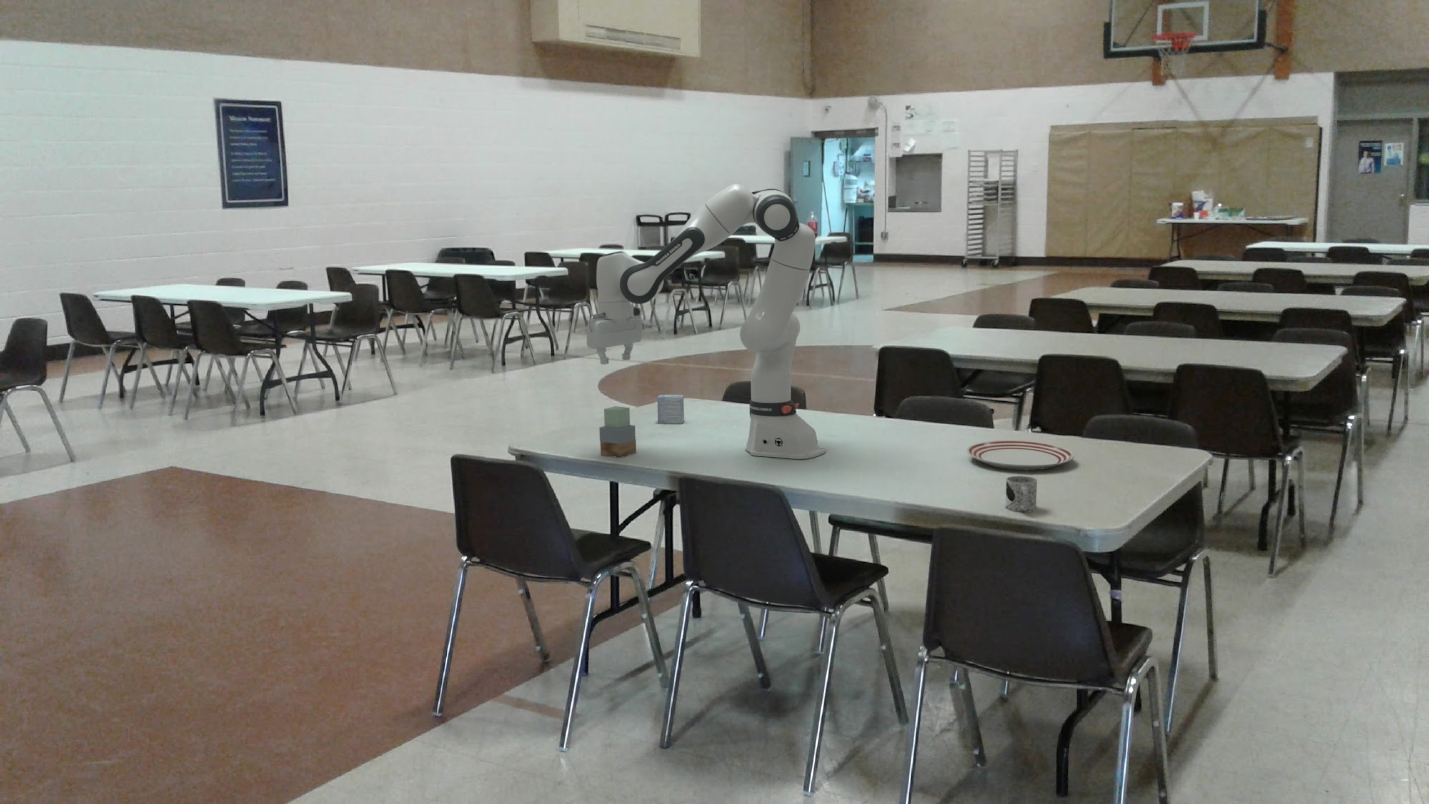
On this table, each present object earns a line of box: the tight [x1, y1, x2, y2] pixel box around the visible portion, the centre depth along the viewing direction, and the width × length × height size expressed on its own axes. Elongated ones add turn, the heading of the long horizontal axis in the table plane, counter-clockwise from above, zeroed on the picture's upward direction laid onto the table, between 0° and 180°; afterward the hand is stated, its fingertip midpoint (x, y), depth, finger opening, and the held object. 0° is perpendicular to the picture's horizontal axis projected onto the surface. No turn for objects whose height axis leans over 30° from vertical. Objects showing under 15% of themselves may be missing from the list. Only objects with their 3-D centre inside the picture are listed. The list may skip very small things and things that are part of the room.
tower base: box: [599, 438, 637, 458], centre depth 322 cm, size 7×7×4 cm
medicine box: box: [656, 394, 685, 425], centre depth 366 cm, size 8×4×9 cm, turn 84°
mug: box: [1005, 475, 1038, 513], centre depth 259 cm, size 10×7×7 cm, turn 175°
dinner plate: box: [966, 439, 1075, 471], centre depth 306 cm, size 27×27×3 cm
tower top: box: [599, 424, 636, 444], centre depth 321 cm, size 7×7×4 cm
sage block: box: [603, 405, 631, 428], centre depth 321 cm, size 5×5×5 cm
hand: (615, 361), depth 318 cm, fingers open, 8 cm apart
